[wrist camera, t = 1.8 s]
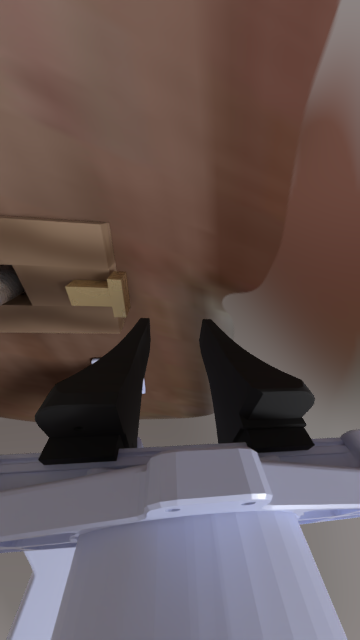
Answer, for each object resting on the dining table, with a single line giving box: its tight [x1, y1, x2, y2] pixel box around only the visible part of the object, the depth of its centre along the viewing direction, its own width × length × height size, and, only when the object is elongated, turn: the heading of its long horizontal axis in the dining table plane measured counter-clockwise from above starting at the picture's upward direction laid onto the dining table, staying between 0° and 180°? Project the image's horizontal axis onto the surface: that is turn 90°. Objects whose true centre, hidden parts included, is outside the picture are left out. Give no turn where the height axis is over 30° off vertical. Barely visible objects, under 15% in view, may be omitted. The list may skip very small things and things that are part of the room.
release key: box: [65, 271, 130, 317], centre depth 16 cm, size 4×5×2 cm
